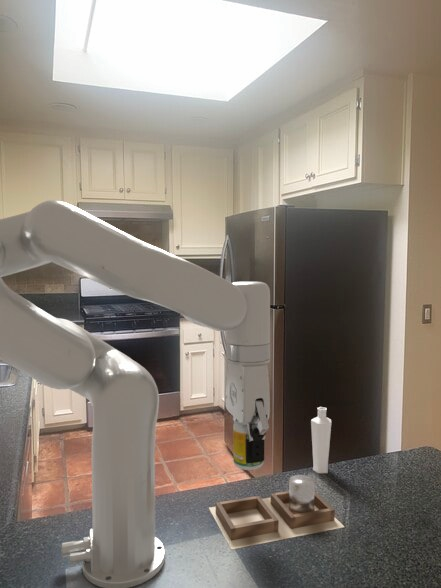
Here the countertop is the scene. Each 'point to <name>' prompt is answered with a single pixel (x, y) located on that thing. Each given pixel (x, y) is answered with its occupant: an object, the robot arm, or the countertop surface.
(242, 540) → the socket board
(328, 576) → the countertop surface
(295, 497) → the silver cylinder
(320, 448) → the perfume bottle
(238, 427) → the supplement bottle
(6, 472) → the countertop surface
